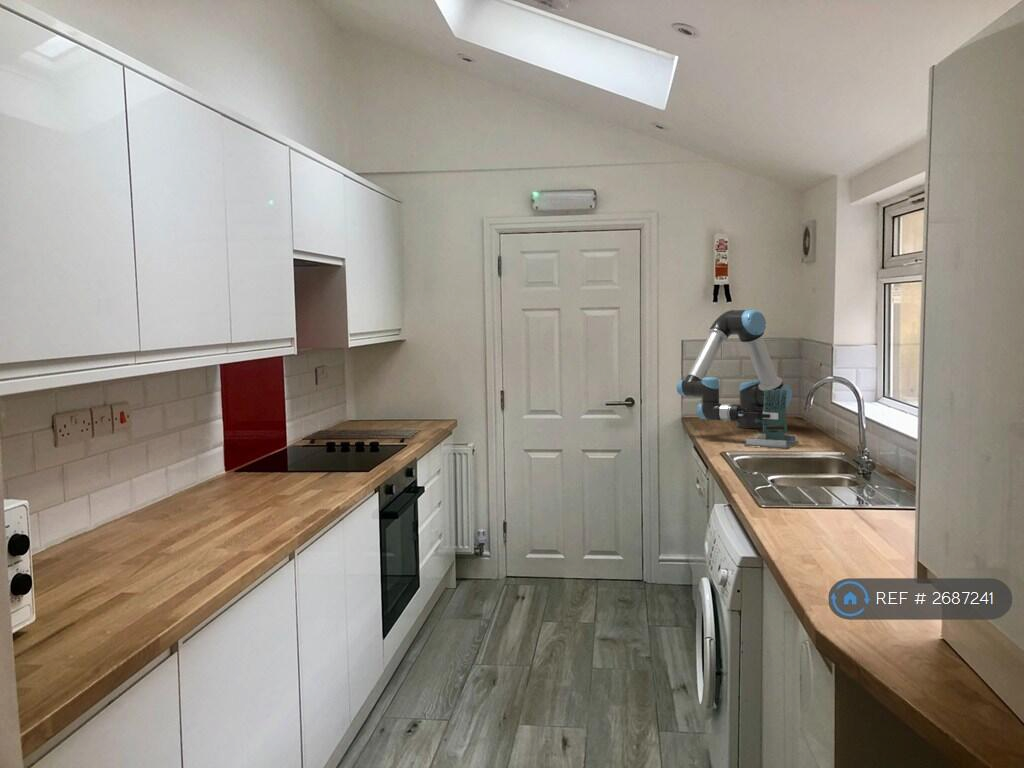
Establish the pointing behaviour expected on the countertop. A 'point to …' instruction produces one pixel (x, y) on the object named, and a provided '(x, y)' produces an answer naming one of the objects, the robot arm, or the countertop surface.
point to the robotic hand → (770, 409)
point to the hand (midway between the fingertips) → (781, 414)
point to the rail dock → (771, 441)
